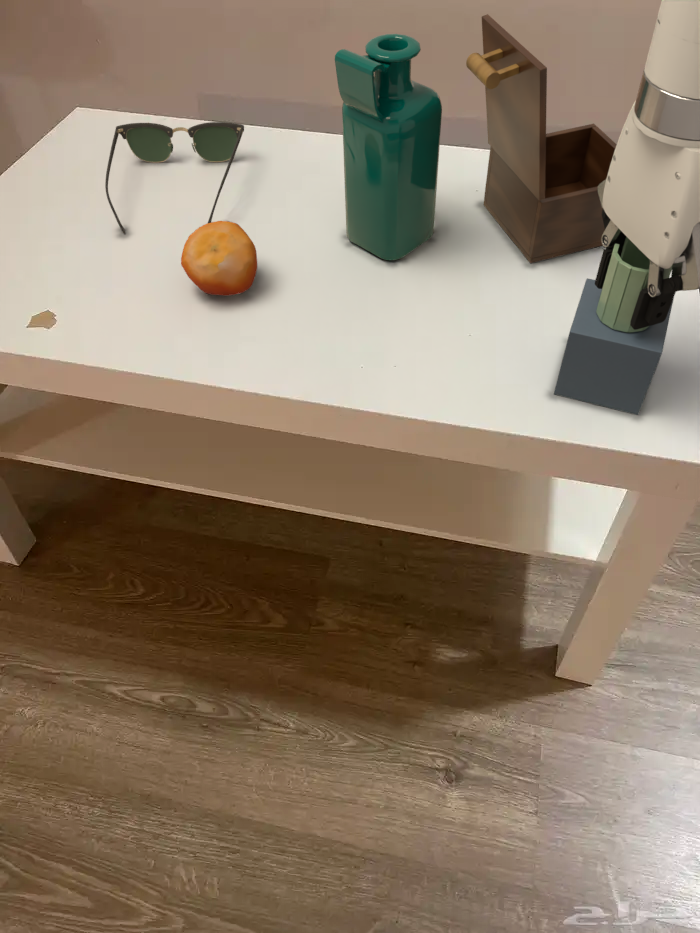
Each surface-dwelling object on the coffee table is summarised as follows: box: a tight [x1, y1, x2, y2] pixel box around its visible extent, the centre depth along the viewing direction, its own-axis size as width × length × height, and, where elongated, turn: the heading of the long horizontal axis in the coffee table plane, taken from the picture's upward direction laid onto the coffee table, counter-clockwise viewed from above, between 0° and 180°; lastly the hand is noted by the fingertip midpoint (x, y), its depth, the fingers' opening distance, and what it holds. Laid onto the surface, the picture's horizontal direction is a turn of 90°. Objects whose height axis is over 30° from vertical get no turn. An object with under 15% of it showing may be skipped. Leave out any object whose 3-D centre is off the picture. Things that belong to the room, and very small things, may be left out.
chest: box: [483, 123, 617, 264], centre depth 90 cm, size 13×12×8 cm
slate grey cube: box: [553, 278, 675, 416], centre depth 74 cm, size 8×8×8 cm
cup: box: [596, 237, 672, 333], centre depth 68 cm, size 5×5×6 cm
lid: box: [465, 13, 548, 201], centre depth 80 cm, size 14×12×4 cm
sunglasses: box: [104, 121, 245, 234], centre depth 97 cm, size 16×17×5 cm
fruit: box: [180, 220, 258, 297], centre depth 85 cm, size 8×8×8 cm
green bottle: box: [334, 33, 443, 261], centre depth 83 cm, size 10×8×22 cm
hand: (628, 301), depth 70 cm, fingers closed on cup, 5 cm apart
